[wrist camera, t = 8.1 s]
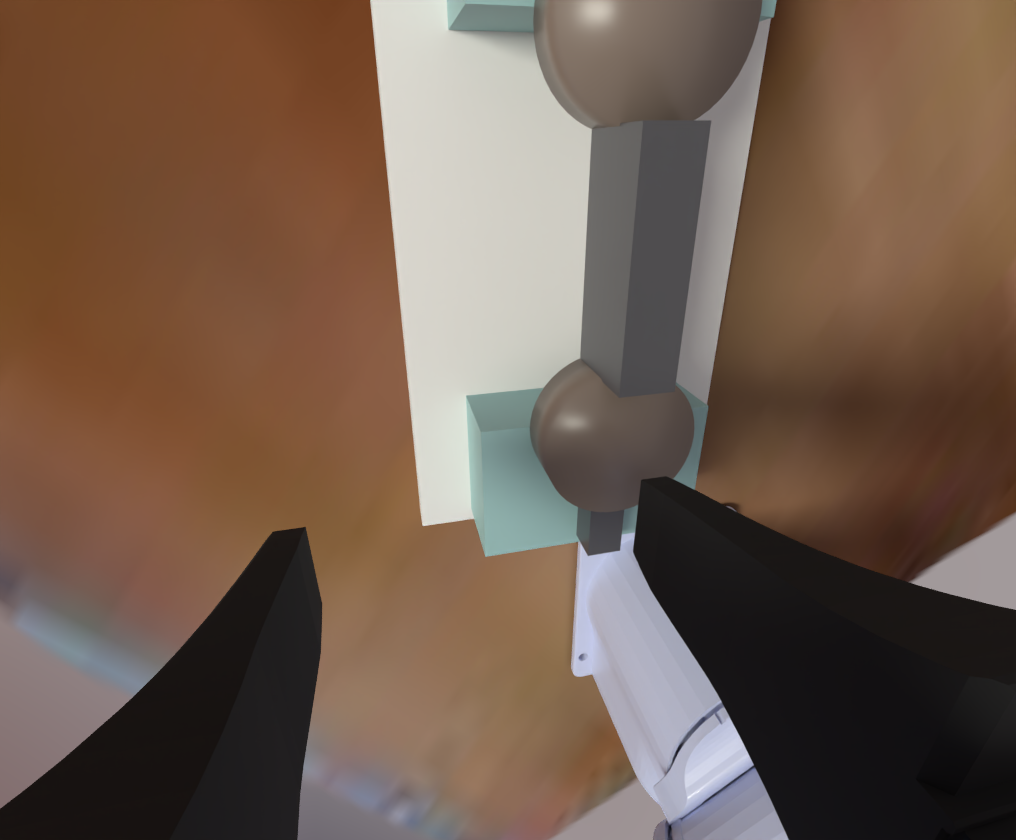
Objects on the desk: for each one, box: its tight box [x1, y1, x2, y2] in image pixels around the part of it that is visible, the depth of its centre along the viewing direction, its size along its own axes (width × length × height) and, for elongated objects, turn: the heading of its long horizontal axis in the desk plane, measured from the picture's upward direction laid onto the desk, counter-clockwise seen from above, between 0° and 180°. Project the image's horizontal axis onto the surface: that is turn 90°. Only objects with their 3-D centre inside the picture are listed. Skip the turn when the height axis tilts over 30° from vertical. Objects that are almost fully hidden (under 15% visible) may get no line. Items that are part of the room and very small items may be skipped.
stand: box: [370, 0, 777, 557], centre depth 17 cm, size 22×12×4 cm, turn 1°
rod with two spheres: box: [530, 0, 762, 556], centre depth 14 cm, size 20×5×3 cm, turn 1°
